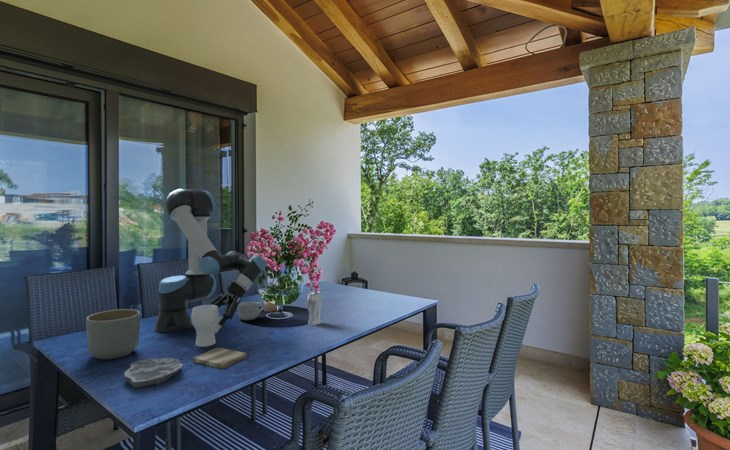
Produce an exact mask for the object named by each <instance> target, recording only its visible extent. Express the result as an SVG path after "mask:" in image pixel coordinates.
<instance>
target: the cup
mask: <svg viewBox="0 0 730 450" xmlns="http://www.w3.org/2000/svg"><path fill="white" fill-rule="evenodd" d="M190 315H191V316H190V319H191V324H192V326H193V328H194V329H195V333H196V337H195V343H194V344H195V346H196V347H198V348H199V347H200V348H201V347H202V348H203V347H204V348H206V347H210V346H213V345H215V344H216V343H217V341H216V336H215V335H216V334H215V333H214V332H213V331H212V330H210V329H211V328H212V327H213V326H214V324H215V323H216V322H217V321H218V319H219V318H220V310H219V308H218V306H216V305H208V304H203V305H202V304H201V305H196V306H194V307H192V311H191V314H190Z"/></svg>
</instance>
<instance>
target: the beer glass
mask: <svg viewBox="0 0 730 450" xmlns="http://www.w3.org/2000/svg"><path fill="white" fill-rule="evenodd" d="M322 295H323V294H322V292H321V291H310V292H308V293H307V309H308V310H307V311H308V316H309V317H308V325H310V326H318V325H321V324H322V321H321V312H322V311H321V310H322V306H323V305H322V304H323V298H322V297H323V296H322Z"/></svg>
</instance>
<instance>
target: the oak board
mask: <svg viewBox="0 0 730 450" xmlns="http://www.w3.org/2000/svg"><path fill="white" fill-rule="evenodd" d="M247 355H248V354H247V352H244V351H243V352H242V351H238V350H234V349H229V348H224V347H220V346H218V347H216V348H213V349H210V350H208V351H206V352H204V353H201V354H199V355H197V356H194V357H193V359H192V360H193V361H192V362H193V363H197V364H200V363H201V365H204V366H208V365H209V366H208V367H212V366H213V367H214V368H217V369H221V370H223V369H225V368H228V367H229V366H231V365H234V364H235V363H238V362H240V361H242V360H243V359H246V358H247ZM213 367H212V368H213Z"/></svg>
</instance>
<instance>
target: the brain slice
mask: <svg viewBox="0 0 730 450" xmlns="http://www.w3.org/2000/svg"><path fill="white" fill-rule="evenodd" d="M183 366H184V363H182V362H181V359H180V358H174V357H167V358H166V357H158V358H155V357H154V358H152V357H151V358H145V359H141V360H137V361H134V362H131V364H130V367H129V368H128V369H126V371H124V372H123V373H124V380H125V381H126V382H127V383H128V384H130V385H131V386H132V387H134V388H136V389H139V388H140V387H142V388H144V386H146V387H149V386H148V385H151V386H155V385H156V384H158V385H161V384H162V383H161V382H163V383H165V382H166V381H167V380H169V379H170V378H172V377H173V376H174V375H175V374H177V373H178V372H179V371H180V369H181V368H182V367H183ZM164 381H165V382H164ZM154 384H155V385H154ZM140 389H141V388H140Z"/></svg>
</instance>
